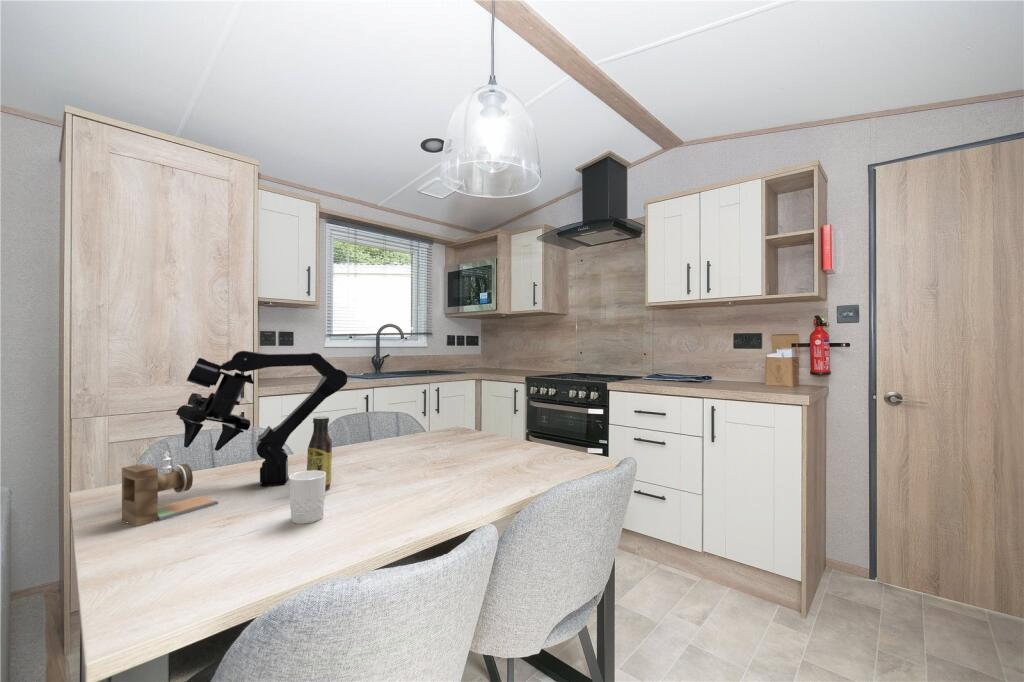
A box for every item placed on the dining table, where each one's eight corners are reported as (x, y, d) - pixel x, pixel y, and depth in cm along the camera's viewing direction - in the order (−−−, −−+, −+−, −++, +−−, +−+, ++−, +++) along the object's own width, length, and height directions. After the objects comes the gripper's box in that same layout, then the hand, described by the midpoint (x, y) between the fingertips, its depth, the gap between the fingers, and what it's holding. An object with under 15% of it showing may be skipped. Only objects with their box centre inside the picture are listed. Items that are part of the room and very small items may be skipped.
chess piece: (181, 485, 132) (182, 449, 132) (167, 490, 127) (167, 454, 127) (165, 484, 133) (166, 449, 133) (150, 490, 128) (150, 453, 128)
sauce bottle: (301, 491, 127) (301, 418, 127) (318, 484, 133) (318, 414, 133) (319, 494, 125) (320, 419, 125) (336, 487, 130) (337, 416, 130)
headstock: (142, 515, 110) (142, 463, 110) (157, 520, 106) (157, 467, 106) (121, 520, 106) (121, 467, 106) (136, 526, 103) (136, 471, 103)
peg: (178, 488, 116) (178, 462, 116) (192, 492, 113) (192, 465, 113) (138, 498, 109) (138, 470, 109) (151, 503, 105) (152, 474, 105)
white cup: (289, 527, 102) (289, 481, 102) (287, 515, 109) (287, 472, 109) (327, 521, 106) (327, 477, 106) (324, 510, 113) (324, 468, 113)
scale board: (200, 498, 121) (200, 495, 121) (218, 503, 117) (218, 500, 117) (142, 514, 110) (142, 511, 110) (159, 520, 106) (159, 517, 106)
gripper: (235, 392, 140) (211, 442, 137) (177, 378, 123) (148, 435, 120) (261, 403, 136) (237, 455, 133) (205, 389, 119) (176, 449, 116)
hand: (201, 448), depth 126 cm, fingers open, 9 cm apart
